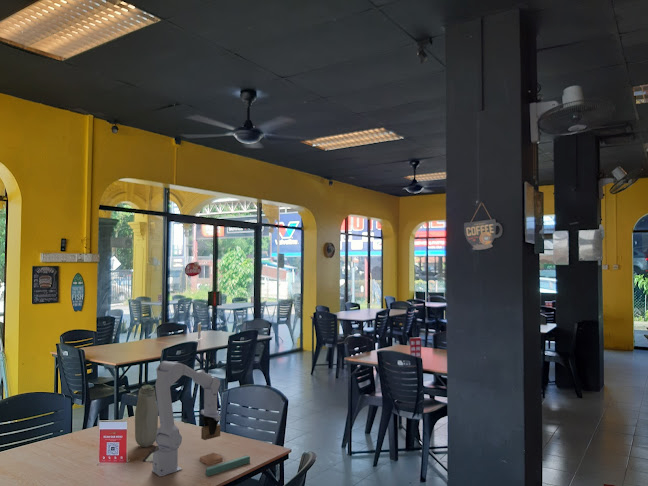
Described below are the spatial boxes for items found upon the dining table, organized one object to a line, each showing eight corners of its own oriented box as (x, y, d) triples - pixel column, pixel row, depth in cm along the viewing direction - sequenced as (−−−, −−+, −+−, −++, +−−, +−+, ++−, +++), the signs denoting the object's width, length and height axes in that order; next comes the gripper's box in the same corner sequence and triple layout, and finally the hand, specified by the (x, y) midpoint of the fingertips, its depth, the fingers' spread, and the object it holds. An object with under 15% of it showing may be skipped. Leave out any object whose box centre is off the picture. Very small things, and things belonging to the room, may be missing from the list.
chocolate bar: (174, 445, 231) (163, 460, 213) (174, 447, 231) (163, 462, 213) (155, 445, 230) (142, 460, 212) (154, 447, 230) (142, 462, 212)
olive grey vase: (158, 447, 229) (158, 386, 230) (134, 450, 225) (135, 388, 227) (157, 440, 238) (157, 382, 240) (134, 443, 234) (135, 384, 236)
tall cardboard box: (204, 440, 220) (204, 428, 220) (201, 438, 222) (201, 427, 223) (220, 436, 225) (220, 425, 226) (216, 434, 228) (217, 423, 228)
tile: (207, 466, 208) (207, 461, 208) (199, 461, 213) (199, 456, 214) (222, 461, 213) (222, 457, 213) (213, 457, 218) (213, 452, 218)
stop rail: (208, 476, 197) (208, 469, 197) (205, 474, 199) (205, 468, 199) (249, 462, 211) (249, 456, 211) (247, 461, 212) (247, 455, 212)
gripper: (226, 404, 222) (226, 435, 221) (210, 398, 233) (210, 427, 232) (212, 407, 217) (212, 438, 216) (196, 401, 228) (196, 431, 227)
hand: (210, 433), depth 224 cm, fingers closed on tall cardboard box, 3 cm apart
